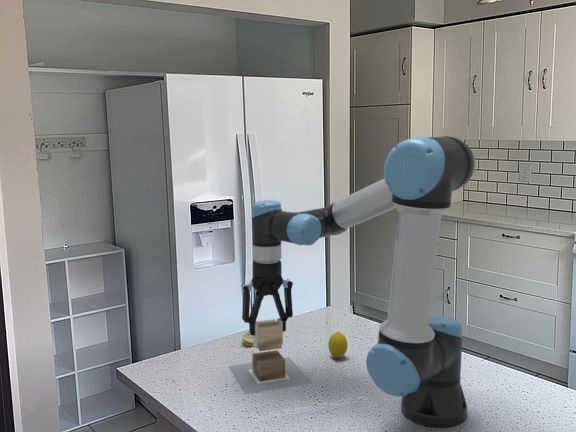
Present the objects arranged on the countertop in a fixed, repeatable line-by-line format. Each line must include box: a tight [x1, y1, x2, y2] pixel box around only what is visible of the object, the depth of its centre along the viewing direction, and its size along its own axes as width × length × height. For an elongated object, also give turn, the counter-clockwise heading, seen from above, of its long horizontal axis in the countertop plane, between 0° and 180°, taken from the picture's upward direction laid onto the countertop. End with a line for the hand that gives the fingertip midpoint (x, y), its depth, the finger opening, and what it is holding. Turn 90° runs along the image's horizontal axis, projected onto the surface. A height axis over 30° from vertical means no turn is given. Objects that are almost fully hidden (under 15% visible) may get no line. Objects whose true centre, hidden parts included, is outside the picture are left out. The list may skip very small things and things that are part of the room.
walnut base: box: [251, 349, 285, 382], centre depth 154 cm, size 7×7×5 cm
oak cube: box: [256, 318, 283, 352], centre depth 153 cm, size 6×6×6 cm
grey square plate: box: [227, 356, 313, 395], centre depth 154 cm, size 18×18×1 cm
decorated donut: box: [241, 331, 255, 349], centre depth 179 cm, size 10×11×4 cm
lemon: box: [328, 331, 348, 359], centre depth 167 cm, size 6×6×8 cm
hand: (267, 344), depth 153 cm, fingers closed on oak cube, 6 cm apart
